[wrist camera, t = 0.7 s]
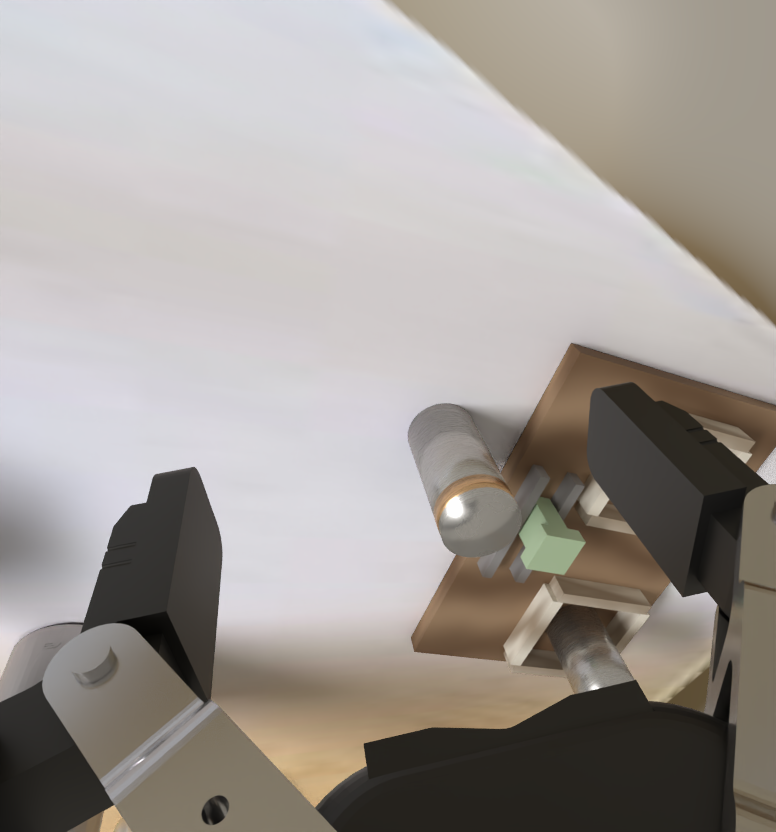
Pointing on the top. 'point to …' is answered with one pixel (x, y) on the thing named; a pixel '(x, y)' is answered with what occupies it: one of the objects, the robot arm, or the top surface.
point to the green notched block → (548, 540)
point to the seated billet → (586, 649)
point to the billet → (462, 482)
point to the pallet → (575, 522)
